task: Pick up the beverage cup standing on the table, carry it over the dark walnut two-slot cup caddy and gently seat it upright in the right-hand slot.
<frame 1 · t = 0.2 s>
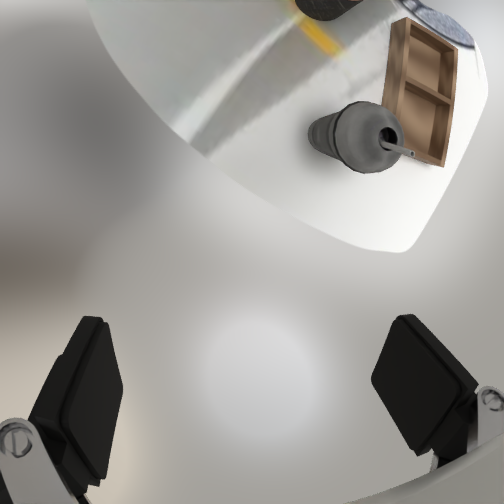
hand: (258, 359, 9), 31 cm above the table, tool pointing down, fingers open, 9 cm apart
beverage cup: (323, 135, 37), on the table
cup caddy: (413, 92, 35), on the table
travel mug: (318, 1, 29), on the table
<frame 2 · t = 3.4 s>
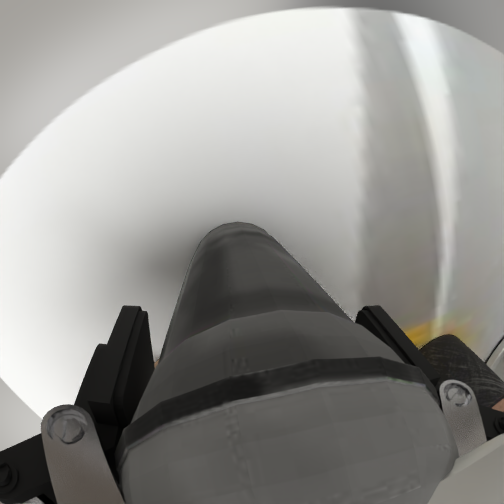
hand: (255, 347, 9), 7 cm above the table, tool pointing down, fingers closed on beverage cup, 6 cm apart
beverage cup: (236, 262, 16), on the table, touching gripper
travel mug: (429, 364, 22), on the table
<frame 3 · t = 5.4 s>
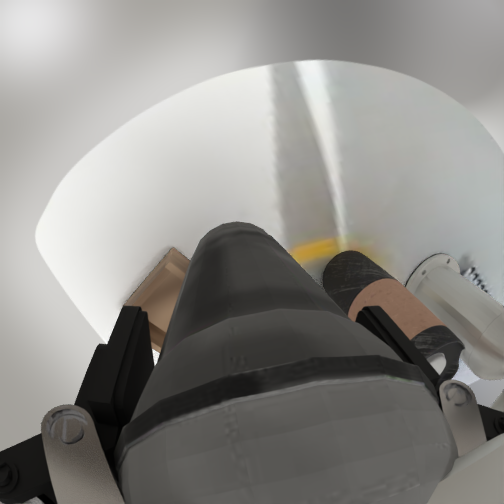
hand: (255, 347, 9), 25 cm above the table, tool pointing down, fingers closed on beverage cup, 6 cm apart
beverage cup: (236, 261, 16), point 18 cm above the table, touching gripper
cup caddy: (209, 324, 38), on the table
travel mug: (346, 274, 39), on the table
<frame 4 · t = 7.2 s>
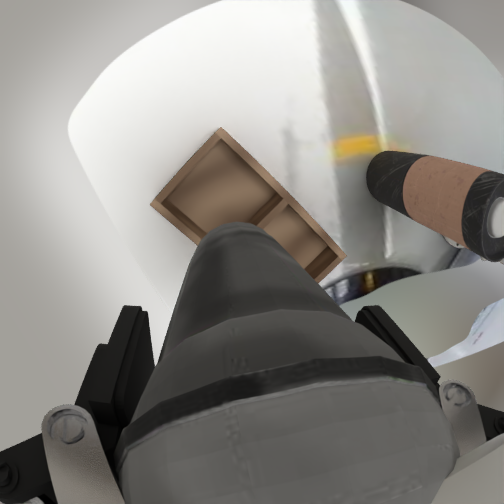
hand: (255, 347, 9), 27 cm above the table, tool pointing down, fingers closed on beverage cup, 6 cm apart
beverage cup: (236, 262, 16), point 20 cm above the table, touching gripper
cup caddy: (250, 220, 36), on the table
travel mug: (387, 176, 36), on the table
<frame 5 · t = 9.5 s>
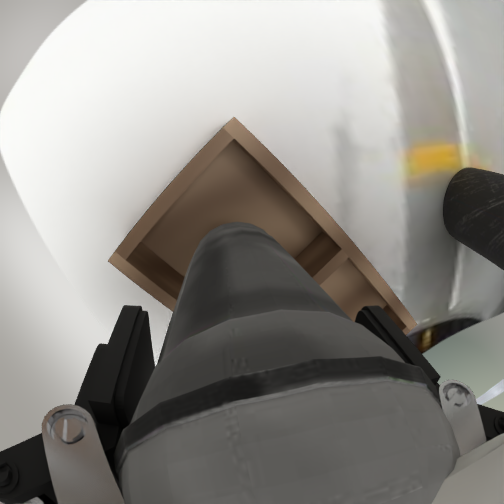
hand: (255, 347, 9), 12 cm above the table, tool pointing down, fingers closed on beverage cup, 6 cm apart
beverage cup: (236, 262, 16), point 5 cm above the table, touching gripper
cup caddy: (279, 274, 22), on the table
travel mug: (465, 203, 23), on the table
when the fingers open (9 cm above the table, at t = 11.3 s): beverage cup drops 2 cm, resting on cup caddy.
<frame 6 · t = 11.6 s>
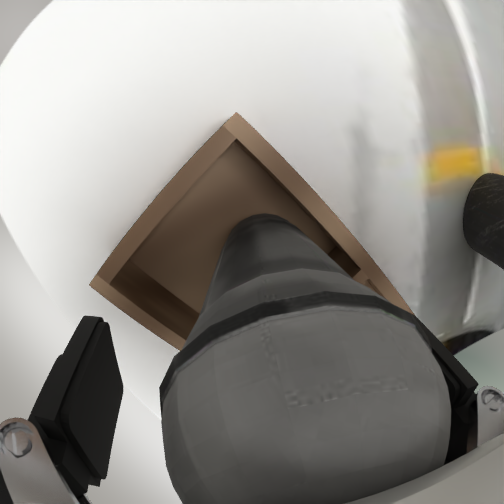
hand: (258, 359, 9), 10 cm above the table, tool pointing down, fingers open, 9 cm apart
beverage cup: (263, 250, 18), point 1 cm above the table, touching cup caddy, gripper
cup caddy: (286, 294, 20), on the table
travel mug: (485, 211, 20), on the table
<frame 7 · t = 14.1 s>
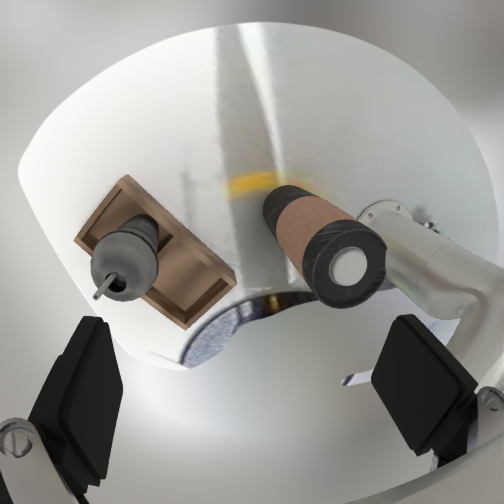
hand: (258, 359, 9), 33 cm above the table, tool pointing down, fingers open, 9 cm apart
beverage cup: (143, 228, 39), resting on cup caddy
cup caddy: (157, 250, 41), on the table
travel mug: (287, 209, 42), on the table
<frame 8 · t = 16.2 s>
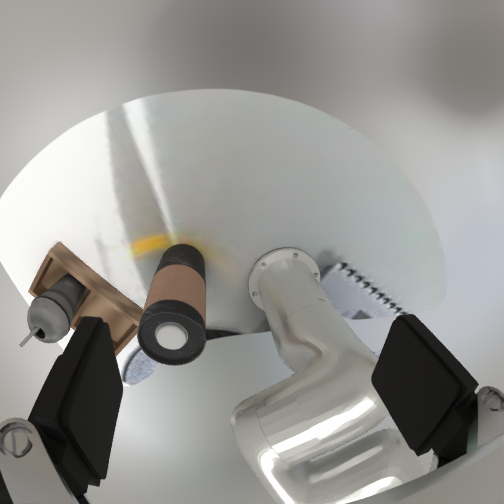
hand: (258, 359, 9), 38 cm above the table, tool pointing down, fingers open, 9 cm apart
beverage cup: (76, 281, 46), resting on cup caddy
cup caddy: (88, 297, 48), on the table
travel mug: (182, 263, 49), on the table
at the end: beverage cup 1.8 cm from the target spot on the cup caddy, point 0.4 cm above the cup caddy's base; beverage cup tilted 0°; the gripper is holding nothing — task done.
